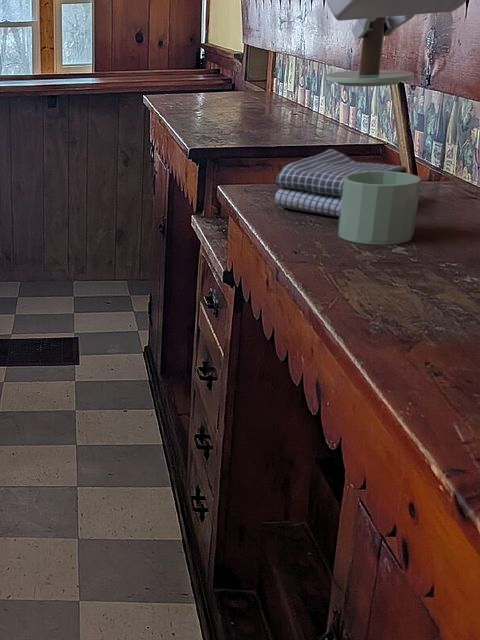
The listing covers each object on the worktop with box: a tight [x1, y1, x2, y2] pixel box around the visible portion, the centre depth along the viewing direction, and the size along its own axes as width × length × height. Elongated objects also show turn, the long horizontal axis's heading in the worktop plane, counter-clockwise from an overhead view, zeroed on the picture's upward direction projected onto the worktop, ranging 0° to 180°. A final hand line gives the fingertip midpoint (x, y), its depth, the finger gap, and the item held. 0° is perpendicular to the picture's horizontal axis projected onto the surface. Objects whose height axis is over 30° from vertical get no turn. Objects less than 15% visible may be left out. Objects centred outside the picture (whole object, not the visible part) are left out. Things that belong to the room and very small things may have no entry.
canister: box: [337, 171, 422, 246], centre depth 126 cm, size 10×10×8 cm
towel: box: [273, 148, 408, 218], centre depth 143 cm, size 15×18×8 cm
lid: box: [324, 17, 415, 88], centre depth 117 cm, size 11×11×9 cm
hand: (370, 33), depth 116 cm, fingers closed on lid, 2 cm apart
